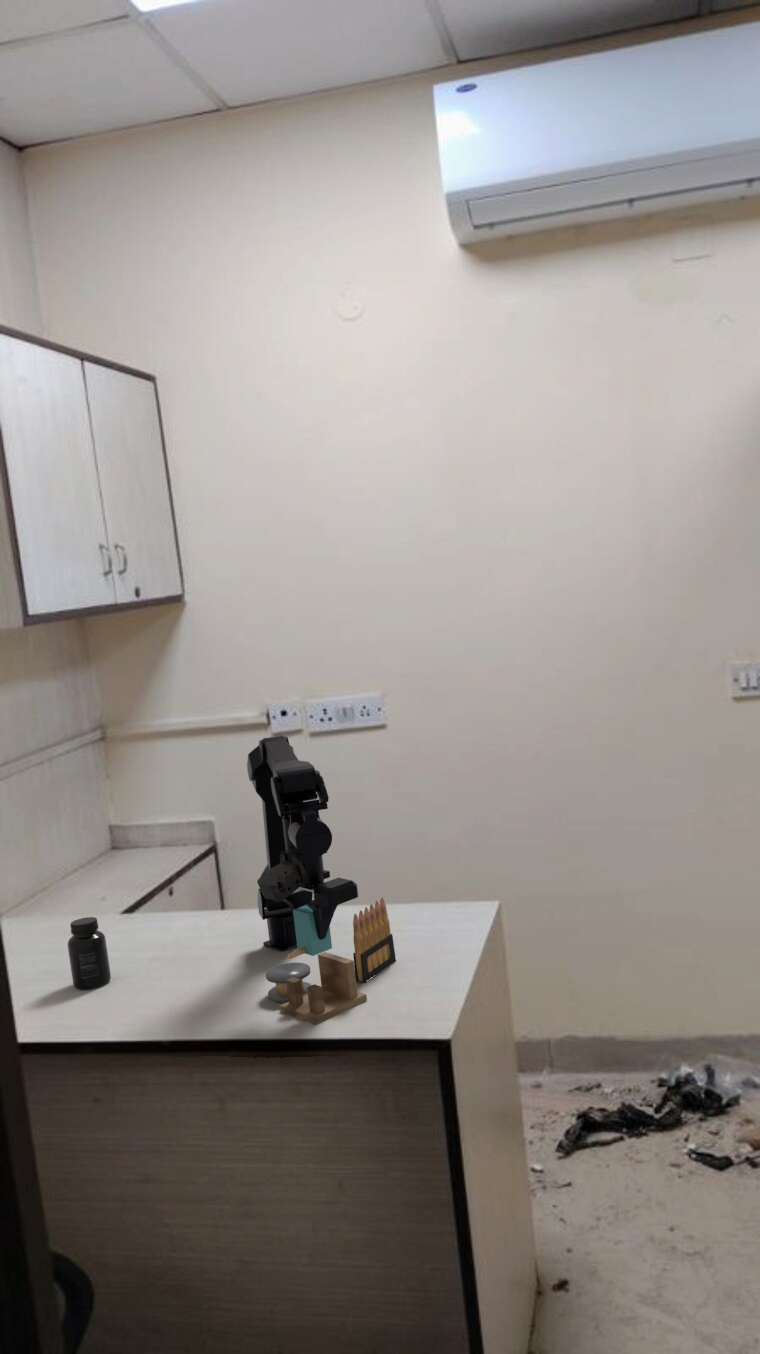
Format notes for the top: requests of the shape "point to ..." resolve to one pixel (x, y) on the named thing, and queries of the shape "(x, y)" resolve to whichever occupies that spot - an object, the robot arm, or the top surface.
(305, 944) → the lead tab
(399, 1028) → the top surface
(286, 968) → the spool
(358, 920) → the ammunition clip
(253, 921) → the top surface
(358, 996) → the notch board
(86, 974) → the supplement bottle
